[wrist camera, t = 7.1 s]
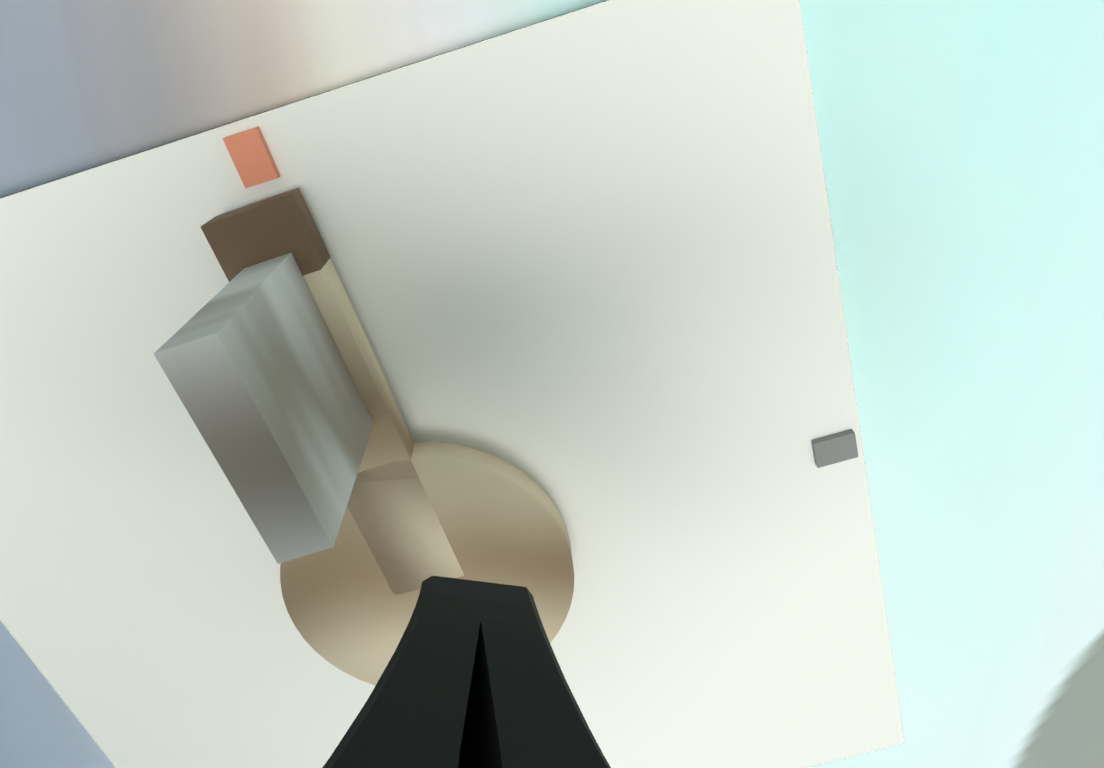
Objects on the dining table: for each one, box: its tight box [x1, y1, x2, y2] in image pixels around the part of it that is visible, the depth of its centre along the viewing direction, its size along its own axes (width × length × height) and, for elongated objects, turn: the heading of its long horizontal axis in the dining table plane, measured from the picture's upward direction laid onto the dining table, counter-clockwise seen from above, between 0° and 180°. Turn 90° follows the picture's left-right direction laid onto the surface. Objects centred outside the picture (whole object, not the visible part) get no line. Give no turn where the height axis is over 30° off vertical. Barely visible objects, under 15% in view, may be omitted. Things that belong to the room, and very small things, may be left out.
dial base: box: [0, 0, 904, 768], centre depth 20 cm, size 22×22×1 cm
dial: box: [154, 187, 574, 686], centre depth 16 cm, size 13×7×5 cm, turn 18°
